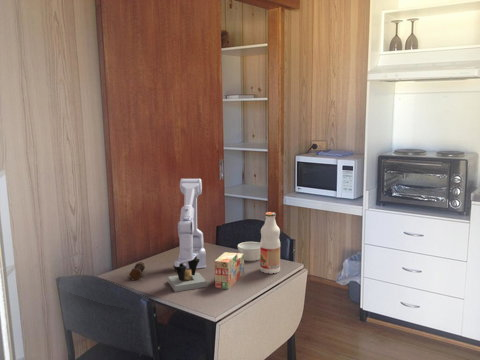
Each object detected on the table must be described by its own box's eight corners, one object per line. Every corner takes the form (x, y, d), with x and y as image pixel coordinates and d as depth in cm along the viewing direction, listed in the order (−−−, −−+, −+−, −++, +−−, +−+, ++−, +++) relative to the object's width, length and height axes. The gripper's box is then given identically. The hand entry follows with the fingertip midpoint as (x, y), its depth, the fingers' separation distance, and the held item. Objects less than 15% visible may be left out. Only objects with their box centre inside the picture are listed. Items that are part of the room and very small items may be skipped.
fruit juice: (277, 275, 200) (277, 215, 196) (257, 272, 203) (257, 214, 199) (282, 268, 209) (282, 211, 205) (263, 266, 212) (263, 210, 208)
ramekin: (232, 259, 223) (232, 246, 222) (246, 252, 234) (246, 240, 233) (254, 263, 216) (254, 250, 215) (267, 256, 227) (267, 244, 226)
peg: (189, 281, 193) (188, 267, 192) (193, 284, 189) (193, 270, 189) (181, 283, 190) (180, 269, 190) (185, 286, 187) (184, 272, 186)
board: (198, 277, 198) (198, 272, 198) (206, 286, 187) (206, 281, 187) (168, 281, 193) (168, 276, 192) (174, 291, 182) (174, 286, 181)
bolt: (142, 272, 211) (137, 282, 196) (133, 267, 210) (127, 277, 195) (148, 262, 210) (143, 271, 195) (139, 257, 210) (133, 266, 195)
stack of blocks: (231, 271, 206) (231, 246, 204) (244, 272, 204) (244, 247, 202) (214, 287, 186) (214, 260, 184) (228, 289, 184) (228, 261, 182)
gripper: (189, 242, 196) (189, 271, 198) (168, 250, 183) (169, 281, 185) (201, 244, 192) (202, 273, 194) (181, 253, 180) (182, 284, 182)
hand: (187, 277), depth 189 cm, fingers open, 7 cm apart
